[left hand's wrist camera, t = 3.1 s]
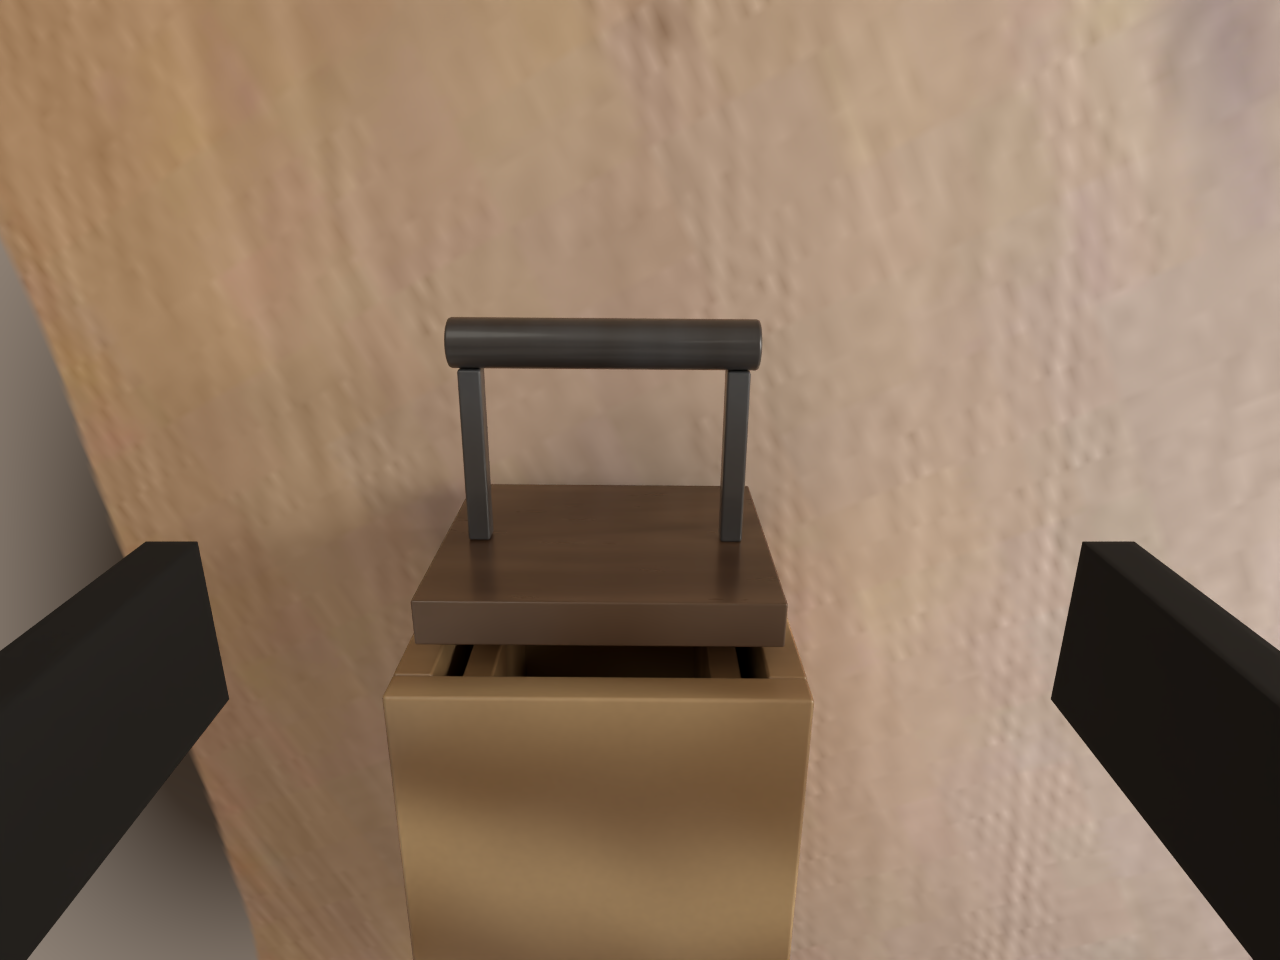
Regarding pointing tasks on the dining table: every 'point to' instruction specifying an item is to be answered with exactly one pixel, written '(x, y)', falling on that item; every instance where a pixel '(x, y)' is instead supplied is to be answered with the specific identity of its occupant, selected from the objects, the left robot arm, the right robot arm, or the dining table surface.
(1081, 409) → the dining table surface
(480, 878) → the cabinet
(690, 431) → the dining table surface
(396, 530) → the dining table surface
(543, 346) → the drawer
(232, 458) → the dining table surface
